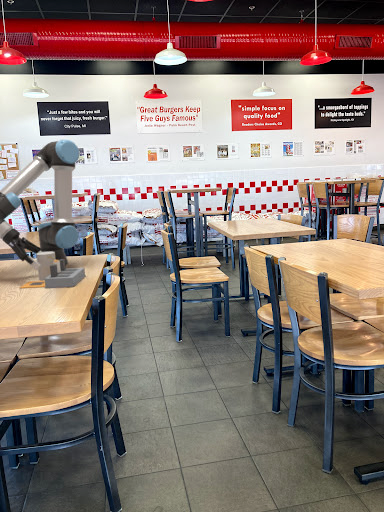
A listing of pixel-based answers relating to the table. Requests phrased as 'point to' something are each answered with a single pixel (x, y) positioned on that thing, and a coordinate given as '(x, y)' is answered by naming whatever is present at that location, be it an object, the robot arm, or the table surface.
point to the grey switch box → (64, 276)
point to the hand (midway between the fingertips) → (43, 264)
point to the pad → (34, 284)
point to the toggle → (57, 265)
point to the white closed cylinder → (45, 263)
